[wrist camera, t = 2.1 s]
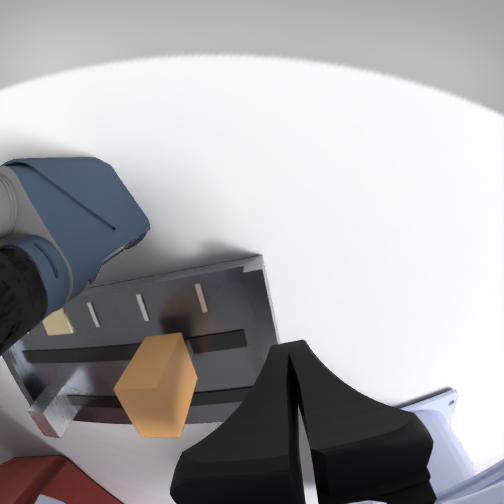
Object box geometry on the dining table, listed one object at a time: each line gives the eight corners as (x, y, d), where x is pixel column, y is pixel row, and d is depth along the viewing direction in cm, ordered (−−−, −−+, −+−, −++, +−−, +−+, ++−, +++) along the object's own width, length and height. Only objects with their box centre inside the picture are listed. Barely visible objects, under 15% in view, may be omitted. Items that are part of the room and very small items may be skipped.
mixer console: (291, 399, 17) (296, 448, 13) (54, 408, 18) (31, 440, 15) (262, 255, 15) (262, 285, 11) (2, 304, 16) (-34, 328, 12)
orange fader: (200, 367, 15) (180, 437, 10) (168, 370, 15) (140, 436, 10) (185, 323, 14) (156, 387, 10) (151, 327, 14) (113, 389, 10)
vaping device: (124, 261, 15) (-52, 414, 3) (70, 180, 14) (-139, 227, 2) (161, 233, 15) (-32, 387, 3) (103, 147, 14) (-126, 152, 2)
